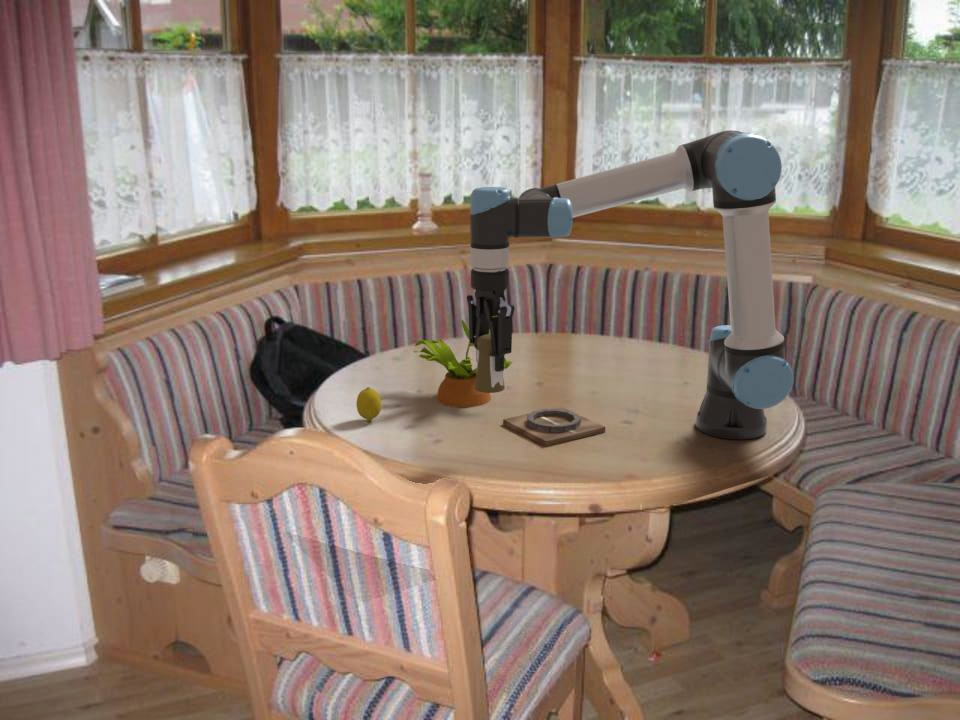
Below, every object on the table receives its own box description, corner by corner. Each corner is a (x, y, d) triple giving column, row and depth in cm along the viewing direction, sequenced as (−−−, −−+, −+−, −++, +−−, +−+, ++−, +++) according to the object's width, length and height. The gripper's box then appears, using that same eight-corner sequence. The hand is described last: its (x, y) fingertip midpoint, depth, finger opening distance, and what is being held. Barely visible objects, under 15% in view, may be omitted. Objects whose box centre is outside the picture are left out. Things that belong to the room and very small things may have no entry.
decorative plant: (532, 400, 234) (534, 297, 227) (459, 424, 218) (458, 315, 211) (455, 376, 253) (455, 280, 246) (382, 396, 237) (379, 295, 230)
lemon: (358, 426, 217) (356, 391, 215) (356, 417, 222) (355, 384, 220) (383, 424, 218) (382, 390, 216) (380, 416, 223) (379, 382, 221)
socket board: (605, 432, 214) (605, 421, 213) (546, 446, 205) (546, 435, 205) (560, 411, 226) (560, 401, 226) (503, 424, 218) (503, 413, 217)
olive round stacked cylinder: (503, 383, 200) (504, 331, 197) (505, 392, 195) (506, 339, 191) (474, 383, 200) (474, 331, 197) (475, 393, 194) (475, 339, 191)
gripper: (531, 273, 186) (530, 390, 192) (481, 259, 199) (482, 369, 206) (498, 277, 182) (498, 397, 188) (450, 263, 195) (451, 375, 202)
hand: (490, 382), depth 197 cm, fingers closed on olive round stacked cylinder, 4 cm apart
